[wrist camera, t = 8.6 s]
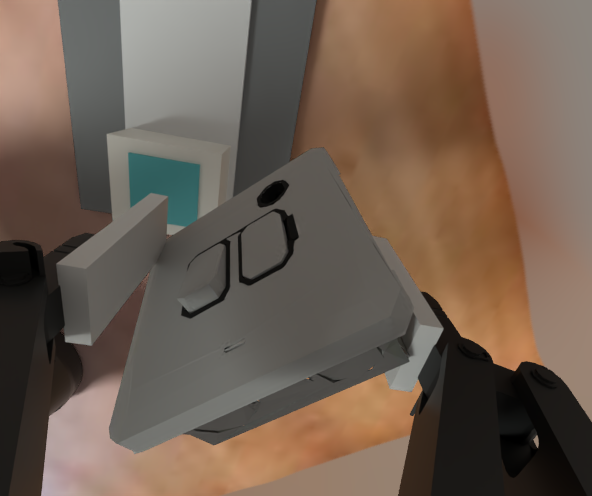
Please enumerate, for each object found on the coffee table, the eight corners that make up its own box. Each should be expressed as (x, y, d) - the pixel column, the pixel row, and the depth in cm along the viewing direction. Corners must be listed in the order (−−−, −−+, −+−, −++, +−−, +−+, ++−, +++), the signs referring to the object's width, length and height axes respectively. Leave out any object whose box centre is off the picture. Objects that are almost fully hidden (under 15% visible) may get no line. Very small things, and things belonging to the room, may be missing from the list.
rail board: (87, 205, 31) (46, 228, 26) (27, -374, 17) (-86, -572, 12) (276, 235, 32) (274, 262, 27) (361, -273, 19) (388, -410, 14)
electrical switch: (321, 138, 14) (382, 246, 6) (371, 227, 17) (460, 389, 9) (157, 241, 16) (46, 420, 8) (222, 307, 19) (183, 496, 11)
